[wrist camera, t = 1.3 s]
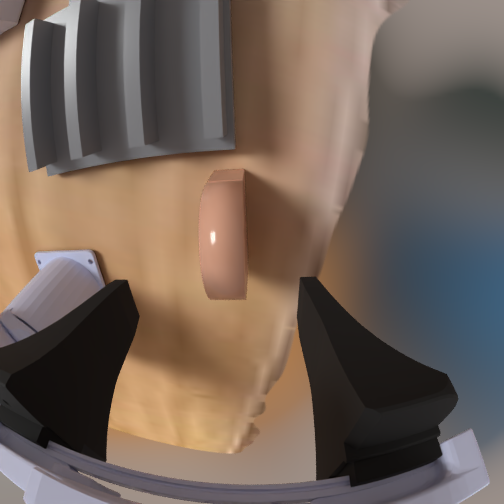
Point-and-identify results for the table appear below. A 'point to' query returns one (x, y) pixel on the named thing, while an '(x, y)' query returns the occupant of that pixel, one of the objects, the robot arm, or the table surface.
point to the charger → (10, 13)
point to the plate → (224, 236)
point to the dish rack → (127, 82)
